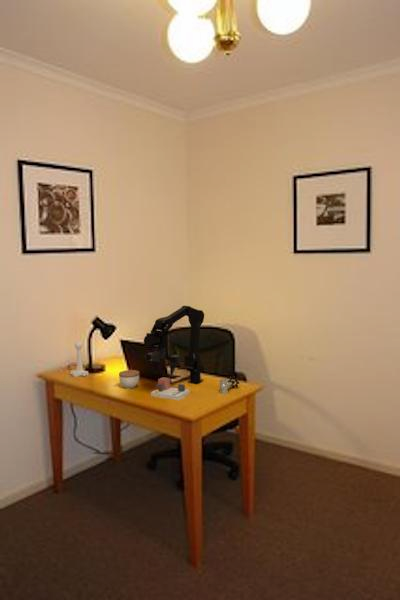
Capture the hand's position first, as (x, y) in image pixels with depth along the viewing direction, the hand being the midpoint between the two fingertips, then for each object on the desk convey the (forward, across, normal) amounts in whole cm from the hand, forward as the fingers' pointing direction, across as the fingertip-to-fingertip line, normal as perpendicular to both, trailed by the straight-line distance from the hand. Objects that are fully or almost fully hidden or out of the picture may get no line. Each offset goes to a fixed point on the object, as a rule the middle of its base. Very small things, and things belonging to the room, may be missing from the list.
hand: (163, 374), depth 236 cm
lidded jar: (+10, -22, +1) cm, 24 cm away
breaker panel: (+10, +5, -2) cm, 11 cm away
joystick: (+10, -63, +7) cm, 64 cm away
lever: (+7, +10, 0) cm, 12 cm away
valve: (+10, +29, +16) cm, 34 cm away
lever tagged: (+7, 0, -4) cm, 8 cm away
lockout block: (+7, 0, 0) cm, 7 cm away
